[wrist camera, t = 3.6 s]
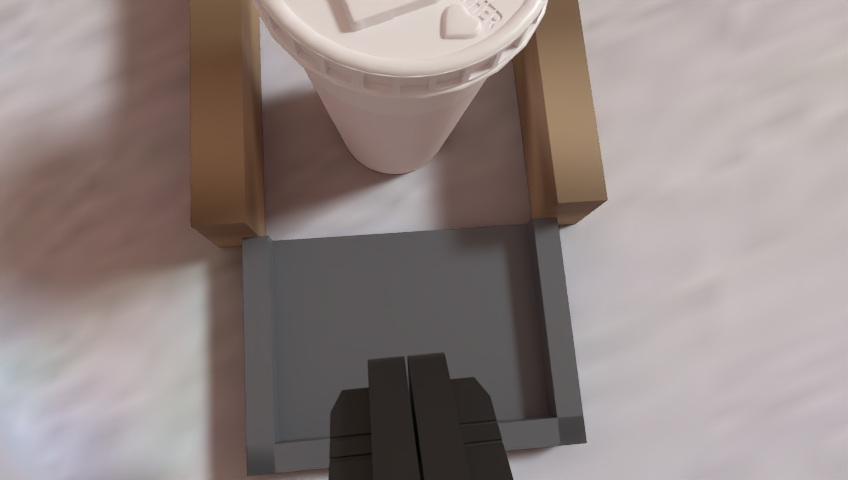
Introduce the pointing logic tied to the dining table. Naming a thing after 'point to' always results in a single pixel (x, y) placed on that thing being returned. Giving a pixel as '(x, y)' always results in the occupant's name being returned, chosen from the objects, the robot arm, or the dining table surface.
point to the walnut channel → (243, 138)
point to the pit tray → (406, 330)
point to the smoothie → (399, 65)
